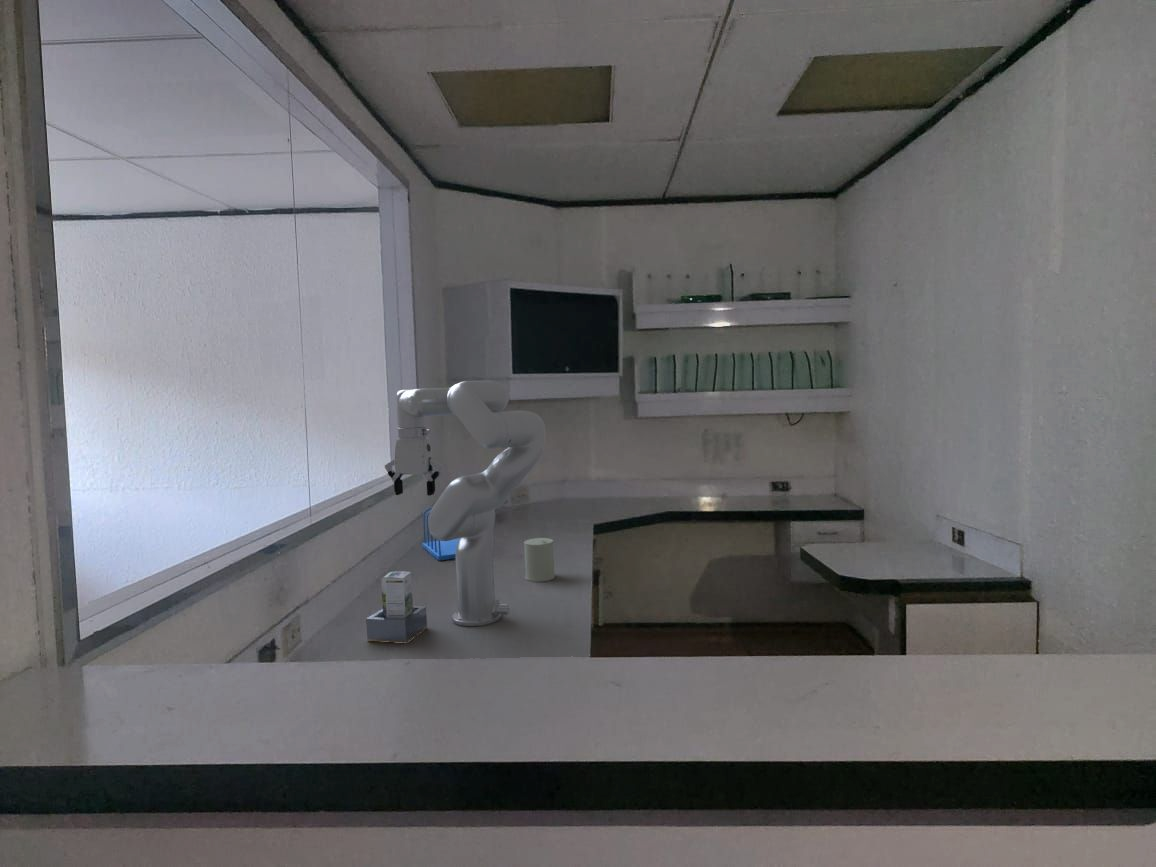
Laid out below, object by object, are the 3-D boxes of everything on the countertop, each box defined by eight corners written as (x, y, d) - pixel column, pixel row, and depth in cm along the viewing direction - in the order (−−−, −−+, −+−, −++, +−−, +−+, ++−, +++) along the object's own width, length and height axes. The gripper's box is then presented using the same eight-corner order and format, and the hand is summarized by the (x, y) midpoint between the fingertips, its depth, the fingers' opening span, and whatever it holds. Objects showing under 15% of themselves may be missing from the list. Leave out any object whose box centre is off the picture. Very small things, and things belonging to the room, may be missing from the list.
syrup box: (391, 628, 168) (388, 571, 167) (414, 627, 168) (411, 570, 167) (383, 636, 163) (379, 577, 162) (407, 636, 162) (404, 577, 161)
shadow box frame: (427, 628, 169) (425, 606, 169) (406, 644, 159) (405, 620, 159) (390, 626, 172) (388, 604, 171) (367, 641, 162) (366, 618, 161)
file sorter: (486, 555, 242) (484, 512, 241) (438, 562, 235) (436, 518, 234) (466, 541, 265) (464, 502, 264) (422, 547, 257) (419, 507, 256)
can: (539, 583, 204) (538, 544, 203) (519, 578, 210) (517, 540, 209) (561, 576, 211) (559, 538, 210) (540, 571, 217) (538, 535, 216)
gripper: (446, 432, 190) (449, 492, 191) (390, 432, 194) (393, 491, 195) (435, 434, 182) (437, 497, 184) (377, 435, 186) (380, 496, 188)
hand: (414, 494), depth 189 cm, fingers open, 9 cm apart
